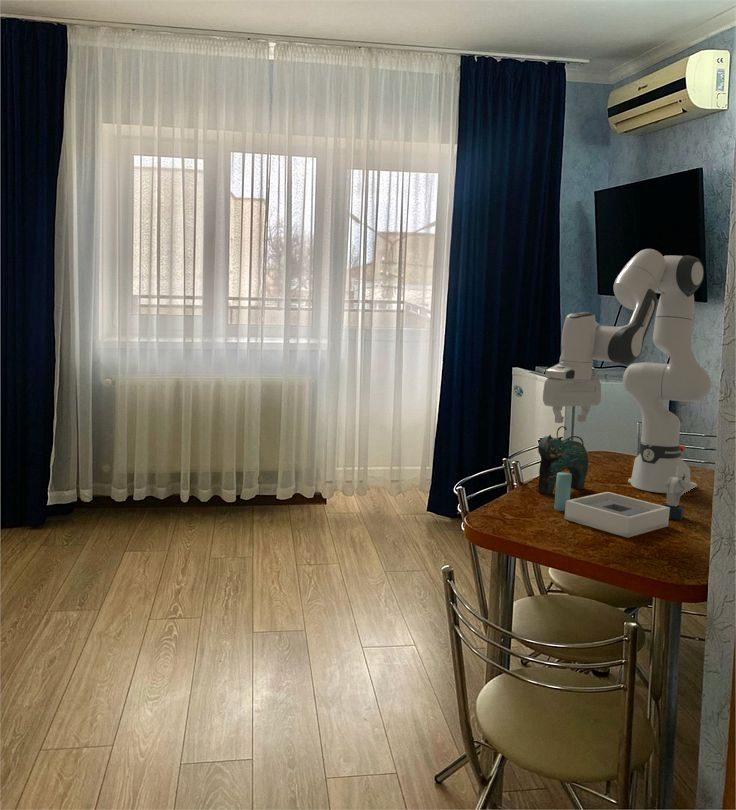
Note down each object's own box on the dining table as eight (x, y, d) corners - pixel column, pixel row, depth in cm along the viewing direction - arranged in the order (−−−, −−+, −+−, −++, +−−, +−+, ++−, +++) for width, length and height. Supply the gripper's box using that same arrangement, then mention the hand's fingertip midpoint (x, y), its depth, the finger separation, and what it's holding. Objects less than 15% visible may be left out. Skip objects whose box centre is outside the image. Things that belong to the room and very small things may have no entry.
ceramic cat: (545, 496, 245) (551, 429, 242) (529, 491, 251) (534, 425, 248) (589, 489, 257) (595, 425, 254) (573, 484, 262) (578, 421, 259)
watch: (684, 515, 232) (689, 476, 230) (679, 521, 225) (683, 481, 223) (663, 511, 234) (667, 473, 233) (657, 518, 228) (661, 478, 226)
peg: (559, 506, 234) (562, 471, 233) (571, 510, 231) (574, 474, 230) (551, 508, 232) (553, 473, 230) (563, 512, 229) (566, 476, 227)
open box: (605, 509, 234) (607, 491, 233) (668, 526, 220) (669, 507, 219) (564, 519, 222) (565, 500, 221) (627, 537, 208) (629, 518, 207)
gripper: (590, 370, 236) (585, 419, 238) (541, 370, 224) (536, 421, 225) (608, 373, 231) (604, 422, 233) (559, 372, 219) (554, 425, 220)
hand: (570, 422), depth 229 cm, fingers open, 8 cm apart
